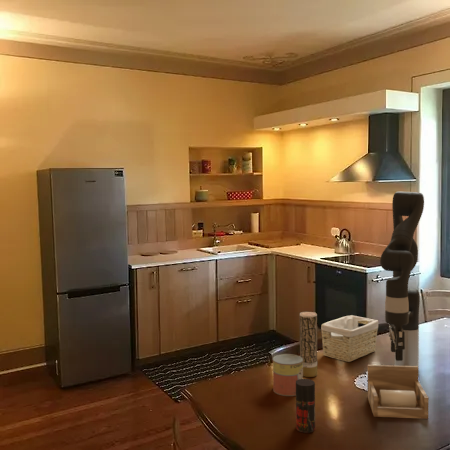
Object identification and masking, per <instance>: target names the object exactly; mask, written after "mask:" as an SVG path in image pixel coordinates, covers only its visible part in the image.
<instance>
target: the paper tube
mask: <svg viewBox="0 0 450 450" xmlns="http://www.w3.org/2000/svg"><path fill="white" fill-rule="evenodd" d="M317 323H318V314H317V313H316V312H315V311H313V312H312V311H302V312H299V356H301V357H302V358H303V377H304V378H313V377H317V375H318V324H317Z"/></svg>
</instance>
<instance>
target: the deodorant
mask: <svg viewBox="0 0 450 450" xmlns="http://www.w3.org/2000/svg"><path fill="white" fill-rule="evenodd" d="M295 426H296V427H295V429H296V430H297V431H298V432H300V433H303V434H304V433H305V434H309V433H313V432H314V431H316V382H315V381H314V380H313V379H309V378H303V379H299V380H297V381H296V396H295Z"/></svg>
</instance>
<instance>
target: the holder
mask: <svg viewBox="0 0 450 450" xmlns="http://www.w3.org/2000/svg"><path fill="white" fill-rule="evenodd" d="M380 390H405V391H414V392H415V396H416V407H415V408H409V407H381V406H380V399H379V392H380ZM429 398H430V397H429V396H428V395H427V393H426V391H425V390H424V388H423V386H422V384H421V383H420V381H419V365H418V366H396V365H395V364H394V365H393V364H392V365H391V364H390V365H389V364H388V365H387V364H367V400H368V403H369V405H370V409H371V413H372V415H373V418H374V417H375V418H376V417H377V418H378V417H379V418H402V419H425V420H427V419H429V401H430V400H429Z"/></svg>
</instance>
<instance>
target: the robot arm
mask: <svg viewBox="0 0 450 450" xmlns="http://www.w3.org/2000/svg"><path fill="white" fill-rule="evenodd" d="M391 206H392V208H391V209H392V222H393V223H392V225H393V226H392V227H393V230H392V234H391V238H390V241H389V243H388V244H387V246H386V247H385V248H384V249H383V251H382V253H381V255H380V257H379V258H380V259H379V261H380V262H379V263H380V264H379V265H380V266H381V268H382V269H383V270H384V271H387V272H392V277H389V278H388V279H386V283H385V301H384V315H385V316H384V321H385V323H386V324H387V325H388V326H389V329H388V330H389V332H388V333H389V334H388V337H389V340H390V352H392V353H394V365H396V366H418V367H419V357H420V356H419V351H420V349H419V347H420V346H419V344H420V343H419V341H420V339H419V338H420V337H419V335H420V334H419V333H420V331H419V330H420V327H419V326H420V325H419V324H420V323H419V319H420V302H421V301H420V300H421V298H420V292H419V290H418V289H416V288H409V282H410V280H409V279H410V276H411V272H412V271H413V270H414V268H415V267H416V265H417V264H418V254H419V253H418V244H417V242H416V241H415V239H414V235H415V232H416V230H417V227H418V225H419V223H420V221H421V218H422V215H423V213H424V208H425V196H424V194H423V193H422V192H417V191H395V193H394V194H393V196H392V205H391ZM403 217H407V218H405V219H404V218H403Z"/></svg>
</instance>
